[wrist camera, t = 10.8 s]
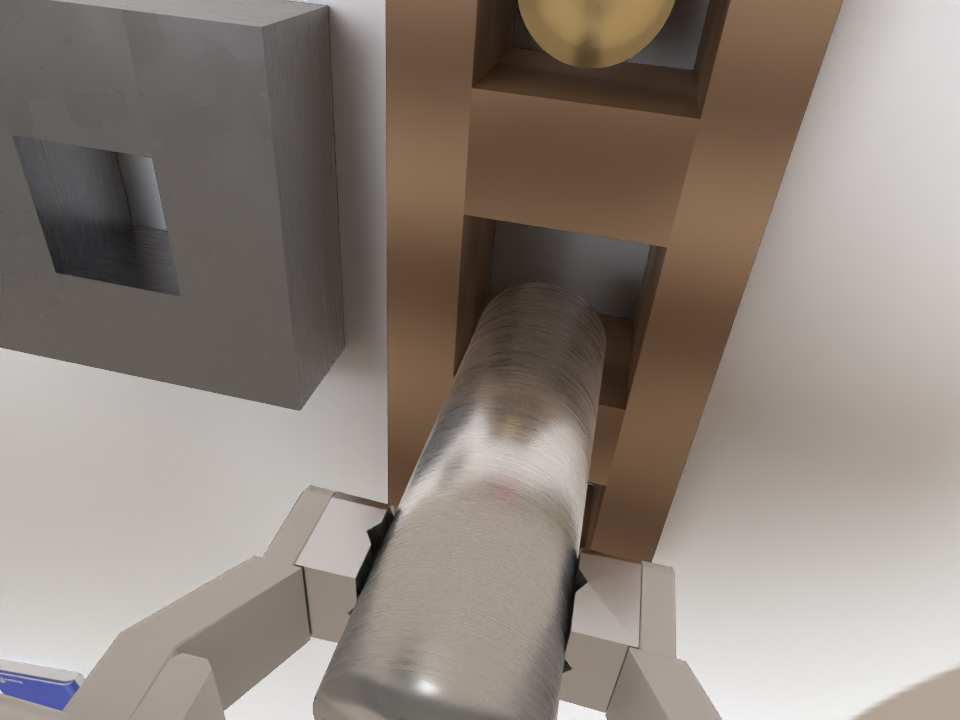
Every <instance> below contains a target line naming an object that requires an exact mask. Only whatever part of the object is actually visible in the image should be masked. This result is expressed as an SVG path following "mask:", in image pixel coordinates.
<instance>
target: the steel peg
mask: <svg viewBox="0 0 960 720" xmlns="http://www.w3.org/2000/svg"><path fill="white" fill-rule="evenodd" d="M605 350H606V334H605V329H604V326H603V324H602V321H601V319H600V317H599V316H598V314H597V313H596V311H595V310H594V309H593V307H592V306H591V305H590V304H589V303H588V302H587V301H585V300H584V299H583V298H582V297H580V296H579V295H577V294H576V293H574V292H572V291H570V290H568V289H566V288H563V287H560V286H557V285H553V284H548V283H526V284H521V285H517V286H514V287H511V288H509V289H507V290H505V291H503V292H501V293H500V294H499V295H497V296H496V297H495V298H494V299H493V300H492V301H491V302H490V303H489V304H488V305H487V307H486V308H485V310H484V312H483V314H482V316H481V318H480V321H479V323H478V325H477V327H476V330H475V332H474V334H473V337H472V339H471V341H470V343H469V346H468V348H467V350H466V353H465V355H464V357H463V359H462V362H461V364H460V366H459V369H458V371H457V373H456V375H455V378H454V380H453V382H452V385H451V387H450V389H449V391H448V394H447V396H446V398H445V401H444V403H443V405H442V407H441V410H440V412H439V414H438V417H437V419H436V421H435V423H434V426H433V428H432V430H431V433H430V435H429V437H428V439H427V442H426V444H425V446H424V449H423V451H422V453H421V455H420V458H419V460H418V462H417V465H416V467H415V469H414V471H413V474H412V476H411V478H410V481H409V483H408V485H407V487H406V490H405V492H404V494H403V497H402V499H401V501H400V503H399V506H398V508H397V510H396V513H395V515H394V517H393V519H392V522H391V524H390V526H389V529H388V531H387V533H386V535H385V538H384V540H383V542H382V545H381V547H380V549H379V551H378V554H377V556H376V558H375V561H374V563H373V565H372V567H371V570H370V572H369V574H368V577H367V579H366V581H365V583H364V586H363V588H362V590H361V593H360V595H359V597H358V599H357V602H356V604H355V606H354V609H353V611H352V613H351V615H350V618H349V620H348V622H347V625H346V627H345V629H344V631H343V634H342V636H341V638H340V641H339V643H338V645H337V647H336V650H335V652H334V654H333V657H332V659H331V661H330V663H329V666H328V668H327V670H326V673H325V675H324V677H323V680H322V682H321V684H320V686H319V689H318V691H317V693H316V696H315V698H314V702H313V715H314V719H315V720H557V713H558V705H559V698H560V690H561V683H562V675H563V668H564V660H565V648H566V640H567V632H568V624H569V617H570V612H571V607H572V600H573V586H574V579H575V572H576V565H577V558H578V554H579V547H580V539H581V532H582V524H583V516H584V509H585V501H586V494H587V486H588V479H589V471H590V464H591V456H592V449H593V441H594V433H595V426H596V418H597V411H598V403H599V396H600V388H601V381H602V373H603V365H604V358H605Z"/></svg>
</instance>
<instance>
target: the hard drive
mask: <svg viewBox="0 0 960 720" xmlns="http://www.w3.org/2000/svg"><path fill="white" fill-rule="evenodd" d="M84 681H85V680H84V678H83V677H82V676H81V674H80V673H79V672H74V671H68V670H62V669H56V668H50V667H44V666H38V665H32V664H26V663H21V662H15V661H9V660H3V659H0V690H1V691H2V692H3V694H5V695H9V696H12V697H15V698H19V699H22V700H26V701H29V702H33V703H36V704H40V705H43V706H46V707H50V708H53V709H57V710H60V711H62V710H63V709H64V708H65V706H66V705H67V704H68V702H69V701H70V700H71V698H72V697H73V696H74V694H75V693H76V692H77V690H78V689H79V688H80V686H81V685H82V684H83V682H84Z"/></svg>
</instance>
